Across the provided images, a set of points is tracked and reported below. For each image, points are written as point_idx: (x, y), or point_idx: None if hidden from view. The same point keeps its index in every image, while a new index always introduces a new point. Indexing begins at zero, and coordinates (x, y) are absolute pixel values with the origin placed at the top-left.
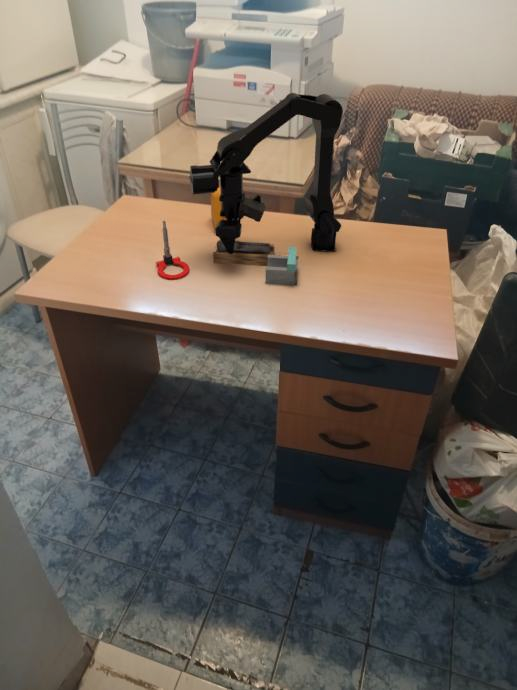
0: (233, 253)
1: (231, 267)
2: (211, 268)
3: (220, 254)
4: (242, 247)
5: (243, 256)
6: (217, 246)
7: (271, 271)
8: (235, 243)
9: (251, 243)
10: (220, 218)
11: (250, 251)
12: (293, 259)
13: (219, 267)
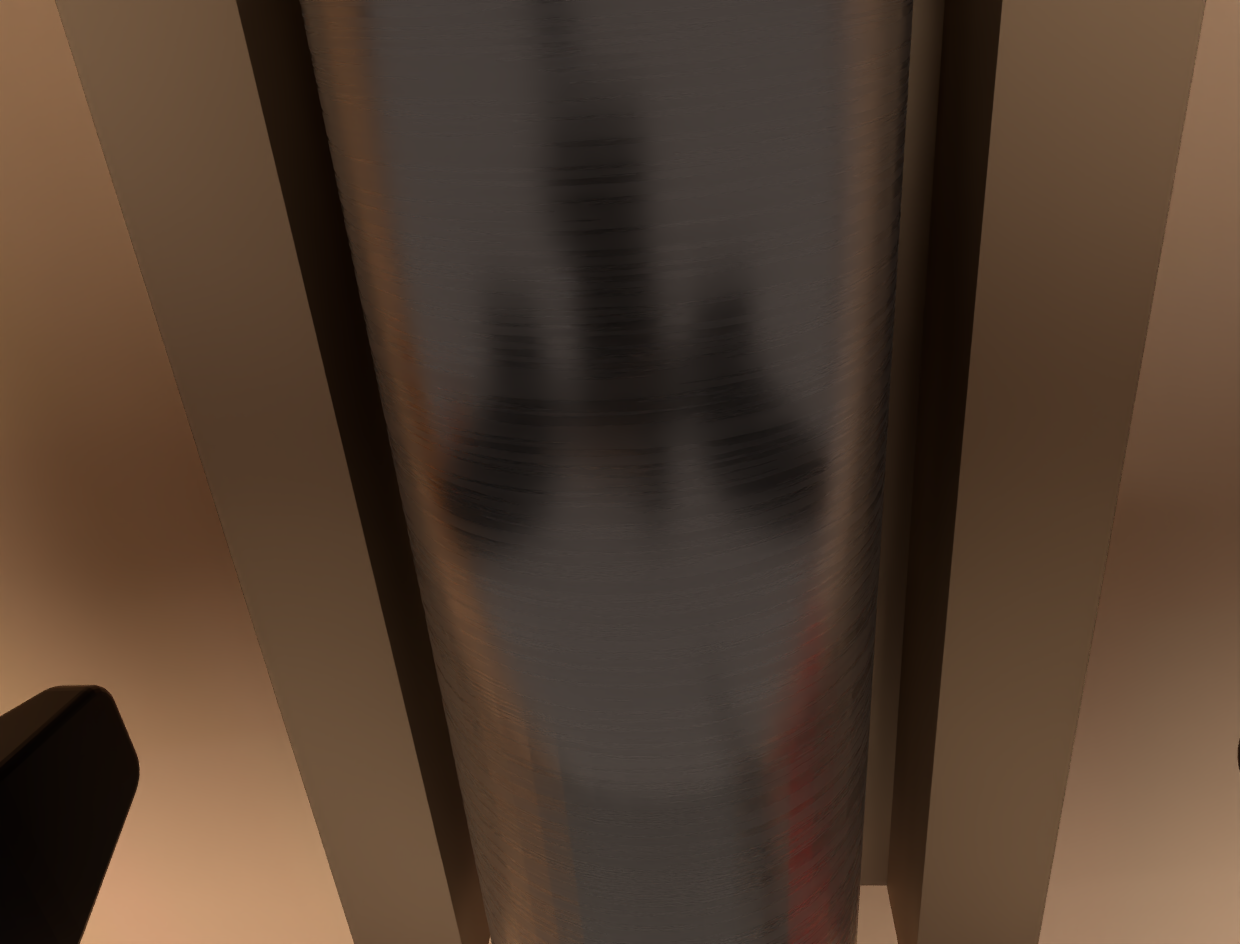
0: (990, 594)
1: (1216, 454)
2: (1224, 817)
3: (1045, 875)
4: (852, 411)
5: (1146, 241)
6: None
7: None
8: (738, 733)
9: (645, 28)
10: None
11: (911, 3)
12: None
13: (1193, 693)
